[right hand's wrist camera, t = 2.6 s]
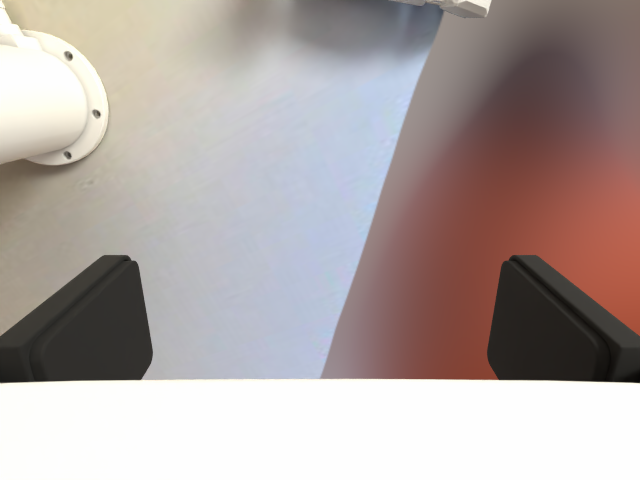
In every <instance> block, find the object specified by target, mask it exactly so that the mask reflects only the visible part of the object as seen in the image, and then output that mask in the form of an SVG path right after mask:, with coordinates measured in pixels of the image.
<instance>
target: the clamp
mask: <svg viewBox="0 0 640 480" xmlns="http://www.w3.org/2000/svg"><path fill="white" fill-rule="evenodd" d="M390 1H396V2H401V3H406V4H412V5H417V6H421V5H424V4H425V3H430V4H436V5H440V8H441V9H443V10H445V11H447V12H449V13H452V14H454V15H457V16H460V17H463V18H484V17H486V16H487V14H488V10H489V7H490V3H491V0H390ZM433 1H439V2H440V3H438V2H433Z"/></svg>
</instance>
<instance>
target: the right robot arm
mask: <svg viewBox="0 0 640 480" xmlns="http://www.w3.org/2000/svg"><path fill="white" fill-rule="evenodd" d="M71 55H73V59H72V58H71ZM98 112H100V114H101V116H99V114H98ZM107 123H108V102H107V96H106V92H105V90H104V87H103V84H102V81H101V79H100V78H99V76H98V74H97V72H96V71H95V69H94V68H93V66H92V65H91V64H90V63H89V61H88V60H87V59H86V58H85V57H84V56H83V55H82V54H81V53H80V52H79V51H78V50H77V49H76V48H74V47H73V46H71V45H70V44H68V43H67V42H65V41H64V40H62V39H60V38H57V37H55V36H53V35H50V34H46V33H42V32H38V31H31V30H20V28H19V26H18V25H16V24H12V22H11V20H10V18H9V16H8V14H7V12H6V9H5V7H4V5H3V3H2V1H1V0H0V164H3V163H7V162H11V161H15V160H19V159H23V158H24V159H26V160H29V161H31V162H34V163H38V164H43V165H64V164H69V163H72V162H75V161H78V160H80V159H82V158H84V157H86V156H88V155H89V154H90V153H91V152H92V151H93V150H95V149H96V147H97V146H98V145H99V143H100V142H101V140H102V138H103V136H104V134H105V131H106V128H107ZM70 154H71V155H70ZM152 356H153V350H152V343H151V337H150V331H149V325H148V319H147V313H146V307H145V302H144V296H143V290H142V284H141V278H140V272H139V267H138V264H137V262H136V261H131V259H130V257H129V256H127V255H104V256H102V257H100V258H99V259H98V260H97V261H95V262H94V263H93V264H91V265H90V266H89V267H88V268H86V269H85V270H84V271H83V272H81V273H80V274H79V275H78V276H76V277H75V278H74V279H72V280H71V281H70V282H69V283H67V284H66V285H65V286H64V287H62V288H61V289H60V290H59V291H57V292H56V293H55V294H53V295H52V296H51V297H50V298H48V299H47V300H46V301H45V302H43V303H42V304H41V305H40V306H38V307H37V308H36V309H34V310H33V311H32V312H31V313H29V314H28V315H27V316H26V317H24V318H23V319H22V320H20V321H19V322H18V323H17V324H15V325H14V326H13V327H12V328H10V329H9V330H8V331H7V332H5V333H4V334H3V335H1V336H0V480H640V336H639V335H637V334H636V333H635V332H633V331H632V330H631V329H630V328H628V327H627V326H626V325H625V324H623V323H622V322H621V321H620V320H618V319H617V318H616V317H614V316H613V315H612V314H611V313H609V312H608V311H607V310H606V309H604V308H603V307H602V306H600V305H599V304H598V303H597V302H595V301H594V300H593V299H592V298H590V297H589V296H588V295H586V294H585V293H584V292H583V291H581V290H580V289H579V288H578V287H576V286H575V285H574V284H573V283H571V282H570V281H569V280H568V279H566V278H565V277H564V276H562V275H561V274H560V273H559V272H557V271H556V270H555V269H554V268H552V267H551V266H550V265H549V264H547V263H546V262H545V261H543V260H542V259H541V258H540V257H538V256H536V255H513V256H511V257H510V259H509V261H504V262H503V264H502V267H501V272H500V278H499V284H498V290H497V296H496V302H495V308H494V314H493V320H492V325H491V331H490V337H489V343H488V350H487V356H488V361H489V364H490V366H491V367H492V369H493V371H494V372H495V374H496V376H497V377H498V379H499V380H418V379H416V380H415V379H207V380H141V379H142V377H143V376H144V374H145V372H146V371H147V369H148V368H149V366H150V364H151V361H152Z"/></svg>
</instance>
